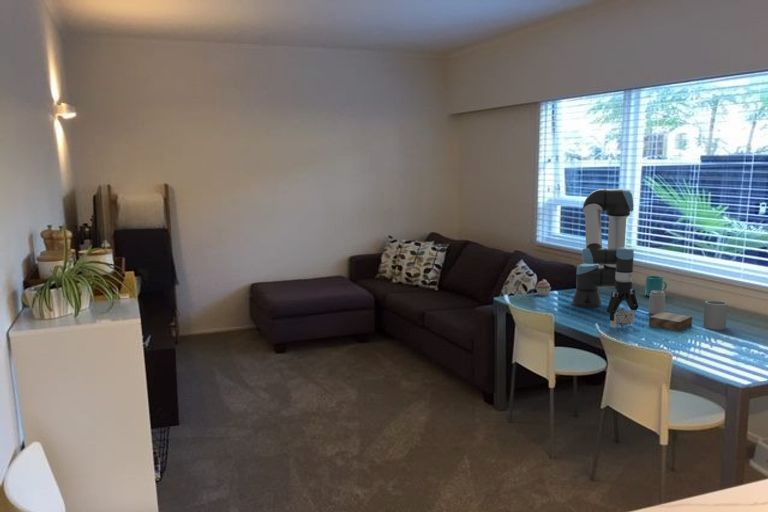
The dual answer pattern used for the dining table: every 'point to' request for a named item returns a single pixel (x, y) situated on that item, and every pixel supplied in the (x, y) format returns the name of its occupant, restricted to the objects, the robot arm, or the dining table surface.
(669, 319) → the walnut block
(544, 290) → the cupcake
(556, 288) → the dining table surface
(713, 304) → the cup
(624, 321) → the game die
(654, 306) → the can
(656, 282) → the cup
